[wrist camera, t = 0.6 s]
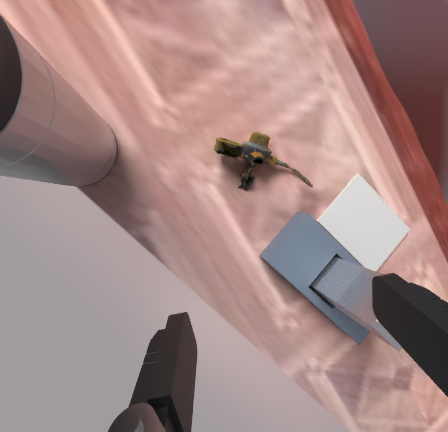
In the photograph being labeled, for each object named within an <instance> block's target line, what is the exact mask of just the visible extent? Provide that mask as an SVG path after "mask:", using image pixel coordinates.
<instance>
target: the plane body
mask: <svg viewBox="0 0 448 432" xmlns="http://www.w3.org/2000/svg"><path fill="white" fill-rule="evenodd" d="M260 257H261V258H262V259H264V260H265V261H266V262H267V263H268V264H269V265H270V266H271V267H272V268H274V269H275V270H276V271H277V272H278V273H279V274H280V275H281V276H282V277H283V278H285V279H286V280H287V281H288V282H289V283H290V284H291V285H292V286H293V287H295V288H296V289H297V290H298V291H299V292H300V293H301V294H302V295H303V296H305V297H306V298H307V299H308V300H309V301H310V302H311V303H312V304H313V305H314V306H316V307H317V308H318V309H319V310H320V311H321V312H322V313H323V314H324V315H326V316H327V317H328V318H329V319H330V320H331V321H332V322H333V323H334V324H336V325H337V326H338V327H339V328H340V329H341V330H342V331H343V332H344V333H346V334H347V335H348V336H349V337H350V338H352V339H353V340H354V341H355V342H357V343H358V344H359V345H360V343H361V342H362V341H363V340H364V338H365V337H366V336H367V335H368V333H369V332H370V331H369V330H367V329H366V328H365V327H363V326H362V325H360V324H359V323H357V322H356V321H355V320H353V319H352V318H350V317H349V316H347V315H346V314H344V313H343V312H342V311H340V310H339V309H337V308H336V307H334V306H333V305H332V304H330V303H329V302H327V301H326V300H324V299H323V298H322V299H321V298H320V297H319V296H317V295H316V294H315V293H314V292H313V291H312V290H311V289H310V288H309V286H310V284H311V283H312V282H313V281H314V280H315V278H316V277H317V276H318V275H319V274H320V272H321V271H322V270H323V269H324V268H325V266H326V265H327V264H328V263H329V262H330V260H331V259H332V258H333V257H337V258H340V259H343V260H345V261H348V262H351V263H354V264H356V265H359V266H361V265H360V264H359V263H358V262H357V261H356V260H355V259H354V258H353V257H352V256H351V255H350V254H349V253H348V252H347V251H346V250H345V249H344V248H343V247H342V246H341V245H340V244H339V243H338V242H337V241H336V240H335V239H334V238H333V237H332V236H331V235H330V234H329V233H327V232H326V231H325V230H324V229H323V228H322V227H321V226H320V225H319V224H318V223H317V222H316V221H315V220H314V219H313V218H312V217H311V216H310V215H309V214H308V213H300V212H297V213H296V214H295V215H294V216H293V218H292V219H291V220H290V221H289V222H288V223H287V224H286V226H285V227H284V228H283V229H282V230H281V231H280V233H279V234H278V235H277V236H276V237H275V238H274V239H273V241H272V242H271V243H270V244H269V245H268V246H267V248H266V249H265V250H264V251H263V252H262V253H261V255H260Z"/></svg>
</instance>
